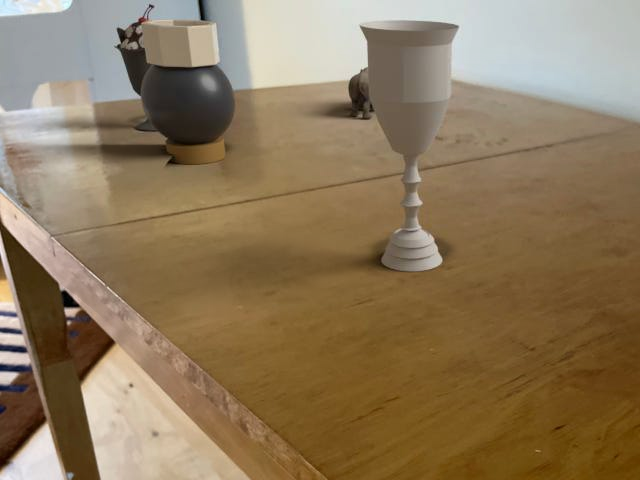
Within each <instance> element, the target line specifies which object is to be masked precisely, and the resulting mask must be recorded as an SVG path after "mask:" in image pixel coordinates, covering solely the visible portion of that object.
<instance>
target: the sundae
mask: <svg viewBox="0 0 640 480" xmlns="http://www.w3.org/2000/svg"><path fill="white" fill-rule="evenodd" d="M153 9H155V4H151V3H149V4H148V7H147V8H146V9H145V11H144V13H143V16H140V17H139V18H137V21H136V22H133V23H131V24H129V25H128V27H127V28H125V29H123V28H121V27H116V32H117V35H118V36H117V37H118V38H119V42H120V43H118V44H117V45H114V46H113V48H115V49H117V50H118V51H119V52H120V55H121V58H122V61H123V63H124V66H125V70H126V73H127V76H128V80H129V83H130V84H131V88H132V90H133V91H134V92H135V93H136V94H137V95H138V96H139V97H141V86H142V82H143V79H144V76H145V74H146V72H147V71H148V69H149V68H150V66H151V65H152V64H150V63H147V60H146V53H145V46H144V39H143V33H142V26H141V23H143V22H145V21H148V20H150V19H149V14H150V12H151V11H152V10H153ZM135 129H137V130H139V131H142V132H143V131H144V132H158V131H157V130H156V129H155V128H154V127H153V126H152V124H151V123H150V121H149V120H148V118H147V117H146V120H145V121H144V122H140V123H138V124H136V125H135Z"/></svg>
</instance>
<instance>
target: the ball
mask: <svg viewBox="0 0 640 480" xmlns="http://www.w3.org/2000/svg"><path fill="white" fill-rule="evenodd" d="M140 101H141V106H142V109H143V111H144V114H145V116H146V119H147V118H148V120H149V121H150V123H151V124H152V126H153V127H154V128H155V129H156V130H157V131H156V132H158V133H159V134H160V135H162V136H163V137H164V138H166V140H165V141H164V143H165V148H166V152H167V154H170V155H172V156H171V157H170V159H169V160H168V161H169V162H171V163H174V164H180V165H204V164H211V163H216V162H220V161H222V160H224V159H225V158H226V156H227V155H226V148H225V139H224V138H223V136H222V135H224V134H225V132H226V131H227V130H228V129H229V128H230V126H231V123H232V121H233V119H234V116H235V111H236V97H235V91H234V89H233V86H232V83H231V81H230V79H229V78H228V76H227V74H226V73H225V72H224V71H223V69H222V68H221V67H220V66H218V64H216V65H209V66H199V67H167V66H159V65H155V64H152V65H151V66H150V68H149V69H148V71H147V72H146V74H145V76H144V79H143V82H142V86H141V96H140Z"/></svg>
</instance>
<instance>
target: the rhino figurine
mask: <svg viewBox="0 0 640 480" xmlns="http://www.w3.org/2000/svg"><path fill="white" fill-rule="evenodd" d="M349 79H350V80H349V82H348V88H347V90H348V96H349V98H350V100H351V109H350V111H349V116H351V117H358V116H359V115H360V112H359V110H362V116H361V117H362V119H373V115H372V114H371V113H370V111H374V108H373V106H372V103H371V100H370V97H369V82H368V66H366V67H364V68H360V71H359V73H356V74H355V75H353V76H351V78H349Z"/></svg>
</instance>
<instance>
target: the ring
mask: <svg viewBox="0 0 640 480" xmlns="http://www.w3.org/2000/svg"><path fill="white" fill-rule="evenodd" d="M141 26H142V33H143V39H144V46H145V53H146V60H147V63H150V64H155V65H159V66H167V67H199V66H209V65H218V63H220V61H221V57H220V49H219V40H218V39H219V38H218V30H217V23H216V22H213V21H207V20H201V19H198V20H197V19H177V18H175V19H174V18H172V19H170V18H169V19H151V20H150V19H149V20H148V21H145V22H143V23H141Z"/></svg>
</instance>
